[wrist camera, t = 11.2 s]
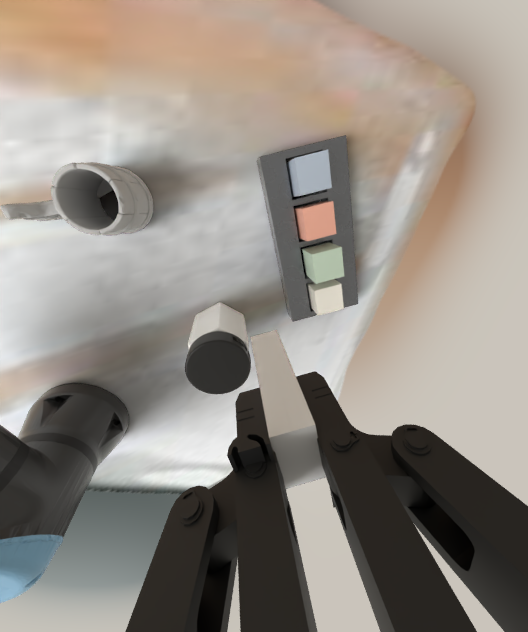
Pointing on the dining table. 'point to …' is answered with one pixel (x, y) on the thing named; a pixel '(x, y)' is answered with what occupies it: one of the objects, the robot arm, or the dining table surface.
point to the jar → (218, 350)
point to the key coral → (315, 220)
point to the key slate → (309, 173)
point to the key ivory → (325, 296)
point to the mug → (91, 200)
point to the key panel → (286, 229)
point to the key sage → (323, 262)
